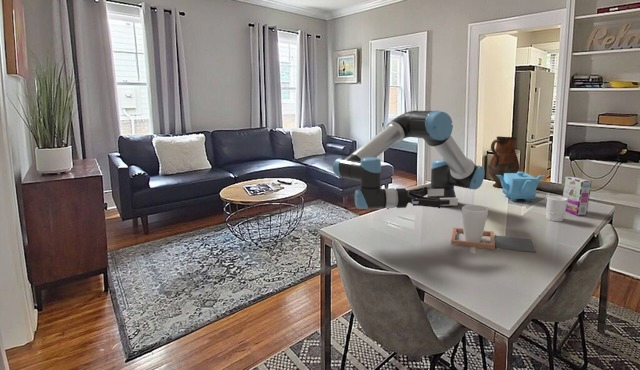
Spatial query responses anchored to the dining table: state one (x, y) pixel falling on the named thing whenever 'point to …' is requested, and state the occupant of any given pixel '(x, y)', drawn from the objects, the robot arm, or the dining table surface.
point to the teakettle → (519, 185)
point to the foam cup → (474, 222)
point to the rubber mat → (515, 244)
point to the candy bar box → (577, 195)
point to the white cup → (556, 208)
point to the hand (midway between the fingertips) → (450, 196)
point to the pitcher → (503, 159)
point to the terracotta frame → (473, 244)
